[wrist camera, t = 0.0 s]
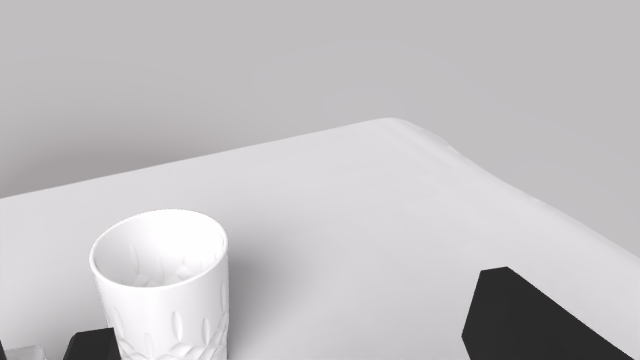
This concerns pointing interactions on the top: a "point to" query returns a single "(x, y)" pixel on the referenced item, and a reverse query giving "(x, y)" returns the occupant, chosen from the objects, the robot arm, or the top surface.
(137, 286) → the white cup
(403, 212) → the top surface
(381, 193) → the top surface
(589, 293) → the top surface
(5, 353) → the container
